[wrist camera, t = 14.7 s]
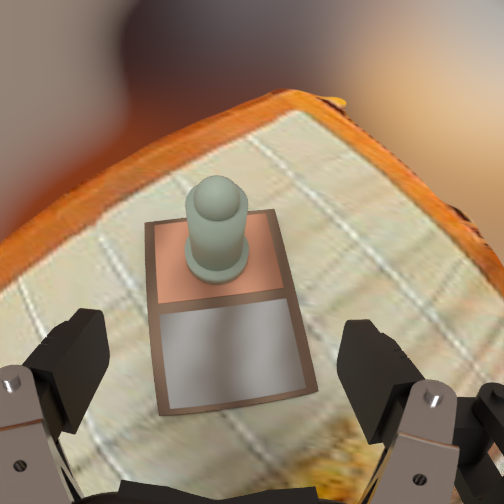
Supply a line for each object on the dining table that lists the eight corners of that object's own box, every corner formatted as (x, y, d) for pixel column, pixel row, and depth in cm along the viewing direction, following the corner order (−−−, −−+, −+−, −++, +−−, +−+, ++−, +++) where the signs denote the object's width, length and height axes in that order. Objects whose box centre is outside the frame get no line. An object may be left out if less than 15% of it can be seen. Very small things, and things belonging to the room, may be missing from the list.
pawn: (242, 227, 31) (251, 150, 22) (252, 280, 29) (268, 214, 20) (183, 233, 30) (172, 157, 21) (189, 288, 28) (176, 224, 19)
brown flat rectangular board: (273, 214, 34) (274, 208, 33) (315, 391, 25) (318, 391, 24) (146, 228, 32) (144, 222, 31) (161, 415, 23) (158, 415, 22)
